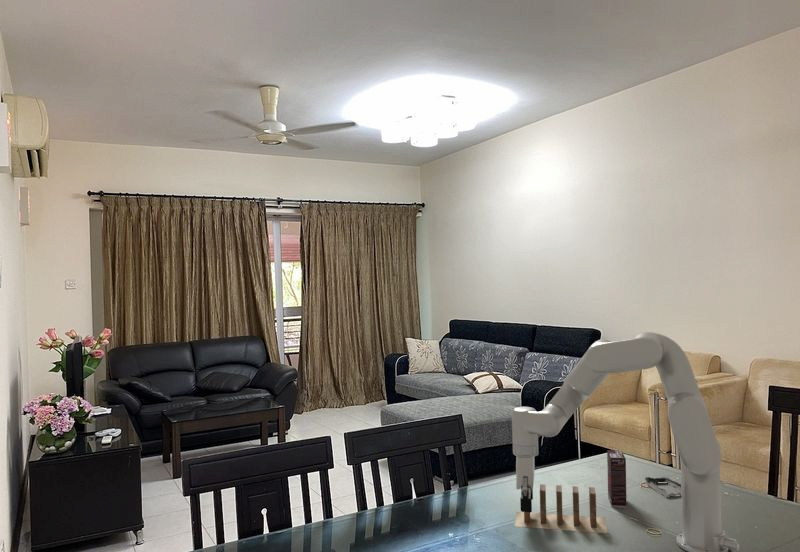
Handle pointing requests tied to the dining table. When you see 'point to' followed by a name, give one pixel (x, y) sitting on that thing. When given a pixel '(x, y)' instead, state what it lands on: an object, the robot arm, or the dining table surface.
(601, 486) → the dining table surface
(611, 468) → the supplement box
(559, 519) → the domino
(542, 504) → the domino
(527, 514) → the domino
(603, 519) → the light wooden board
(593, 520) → the domino
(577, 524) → the domino
